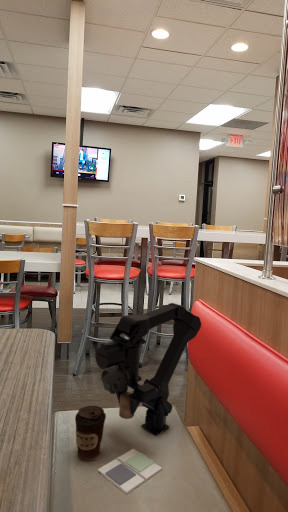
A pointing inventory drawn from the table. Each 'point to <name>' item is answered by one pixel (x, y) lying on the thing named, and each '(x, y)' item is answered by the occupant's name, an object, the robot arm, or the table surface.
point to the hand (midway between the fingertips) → (127, 410)
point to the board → (129, 470)
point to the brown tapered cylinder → (125, 406)
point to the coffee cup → (89, 431)
